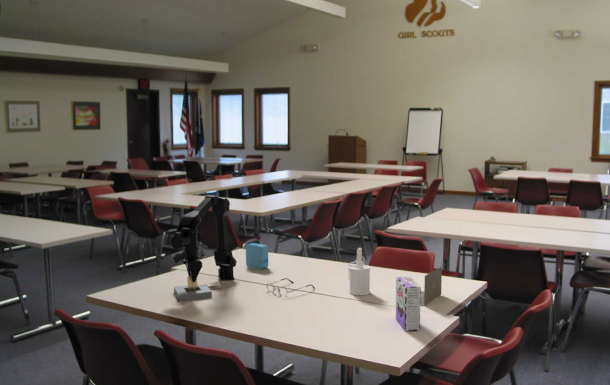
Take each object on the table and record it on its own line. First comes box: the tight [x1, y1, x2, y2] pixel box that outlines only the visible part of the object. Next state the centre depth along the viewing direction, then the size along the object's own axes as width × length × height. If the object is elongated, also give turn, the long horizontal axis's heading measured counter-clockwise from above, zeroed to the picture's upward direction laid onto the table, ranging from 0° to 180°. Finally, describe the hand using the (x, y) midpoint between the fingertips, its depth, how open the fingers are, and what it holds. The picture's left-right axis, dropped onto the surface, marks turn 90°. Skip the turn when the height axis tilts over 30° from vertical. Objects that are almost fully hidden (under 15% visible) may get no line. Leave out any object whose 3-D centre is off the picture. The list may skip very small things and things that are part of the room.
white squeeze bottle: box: [347, 247, 371, 297], centre depth 248 cm, size 10×9×20 cm
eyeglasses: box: [265, 277, 315, 296], centre depth 253 cm, size 16×19×5 cm
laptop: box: [420, 266, 443, 307], centre depth 239 cm, size 18×12×13 cm
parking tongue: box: [205, 281, 222, 290], centre depth 259 cm, size 6×6×2 cm
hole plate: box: [173, 282, 213, 302], centre depth 248 cm, size 14×14×3 cm
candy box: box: [395, 276, 422, 332], centre depth 207 cm, size 14×6×16 cm, turn 5°
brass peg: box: [187, 276, 198, 292], centre depth 247 cm, size 4×4×8 cm
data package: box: [245, 242, 269, 270], centre depth 294 cm, size 12×4×12 cm, turn 52°
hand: (191, 279), depth 247 cm, fingers open, 9 cm apart
